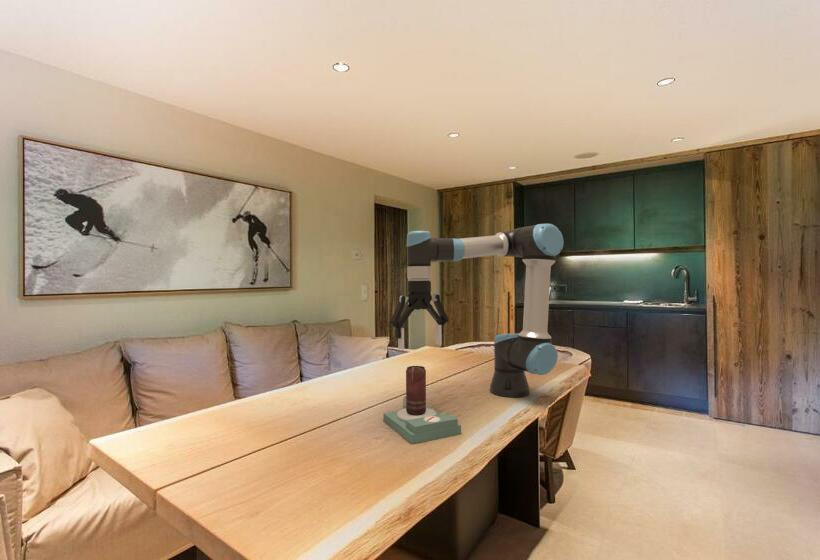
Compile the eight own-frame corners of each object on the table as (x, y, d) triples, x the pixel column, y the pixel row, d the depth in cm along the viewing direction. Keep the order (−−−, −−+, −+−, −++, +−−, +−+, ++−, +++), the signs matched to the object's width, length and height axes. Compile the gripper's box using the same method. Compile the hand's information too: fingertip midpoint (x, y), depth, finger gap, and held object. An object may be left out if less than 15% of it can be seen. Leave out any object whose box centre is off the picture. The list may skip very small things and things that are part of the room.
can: (404, 415, 123) (404, 369, 123) (408, 408, 129) (408, 364, 129) (424, 416, 122) (423, 369, 122) (427, 409, 128) (427, 365, 128)
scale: (427, 413, 135) (427, 398, 135) (461, 433, 117) (461, 416, 117) (383, 420, 128) (383, 405, 128) (412, 444, 110) (412, 426, 110)
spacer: (411, 407, 141) (411, 395, 141) (416, 410, 138) (416, 399, 138) (401, 409, 140) (400, 397, 140) (406, 412, 136) (406, 400, 136)
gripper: (445, 279, 138) (446, 341, 138) (378, 280, 126) (379, 348, 126) (458, 279, 131) (459, 344, 131) (388, 281, 119) (389, 352, 120)
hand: (420, 346), depth 129 cm, fingers open, 13 cm apart
